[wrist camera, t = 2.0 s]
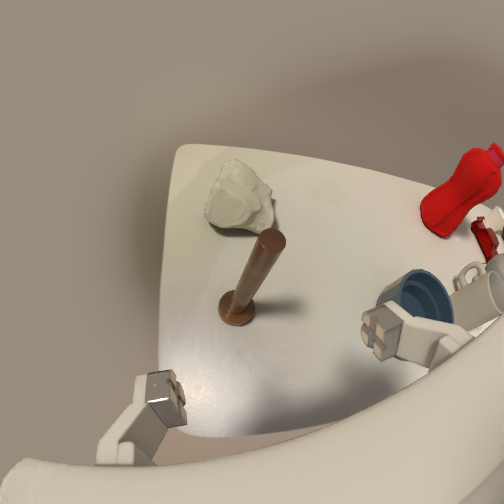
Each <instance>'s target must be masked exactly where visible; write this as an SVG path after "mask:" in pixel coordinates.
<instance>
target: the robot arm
mask: <svg viewBox="0 0 504 504" xmlns="http://www.w3.org/2000/svg"><path fill="white" fill-rule="evenodd" d="M362 321H363V322H364V324H363V326H362V327H361V336H362V340H363V342H364V343H365V345H366V346H367V347H369V348H373V354H374V355H375V356H376V357H377V358H378V359H379V361H380V362H382V361H384V360H386V359H388V358H390V357H392V356H394V355H396V356H399V357H401V358H404V359H406V360H408V361H411V362H413V363H416V364H418V365H421V366H423V367H426V368H429V371H428V374H426V375H425V376H423V377H421V378H420V379H418V380H417V381H415V382H413V383H412V384H410V385H409V386H407V387H405V388H404V389H402V390H400V391H398V392H397V393H395V394H393V395H391V396H389V397H388V398H386V399H384V400H382V401H380V402H378V403H376V404H374V405H372V406H370V407H368V408H366V409H364V410H362V411H360V412H358V413H356V414H354V415H352V416H350V417H347V418H345V419H343V420H341V421H338V422H336V423H333V424H331V425H329V426H326V427H324V428H321V429H318V430H316V431H313V432H311V433H308V434H305V435H302V436H299V437H296V438H293V439H290V440H287V441H284V442H281V443H278V444H274V445H271V446H267V447H263V448H260V449H256V450H252V451H248V452H244V453H239V454H235V455H230V456H226V457H220V458H215V459H209V460H203V461H197V462H189V463H180V464H171V465H159V466H157V465H156V464H155V463H154V462H153V461H152V458H153V456H154V455H155V452H156V451H157V449H158V447H159V445H160V443H161V442H162V440H163V438H164V436H165V434H166V432H167V431H168V428H172V427H178V426H183V425H187V414H186V411H185V409H184V405H185V404H186V401H185V395H184V391H183V389H182V386H181V384H180V383H179V382H177V381H176V375H175V373H174V372H173V370H171V369H170V370H165V371H158V372H153V373H147V374H140V375H137V376H136V379H135V386H134V394H133V403H132V405H129V406H128V407H127V408H126V409H125V411H124V412H123V413H122V414H121V415H120V416H119V418H118V419H117V420H116V421H115V422H114V424H113V425H112V426H111V427H110V428H109V430H108V431H107V432H106V433H105V435H104V436H103V437H102V438H101V439H100V440H99V442H98V448H97V455H96V464H95V466H89V465H77V464H68V463H60V462H53V461H47V460H42V459H37V458H31V457H27V458H24V459H23V460H21V461H20V462H19V463H18V464H17V465H16V466H14V467H13V468H12V469H11V470H10V471H9V472H8V473H7V474H6V475H5V477H4V479H3V481H2V484H1V487H0V504H504V313H503V314H501V315H500V316H499V317H498V318H497V319H496V320H495V321H494V322H493V323H492V324H491V325H490V326H489V327H488V328H486V329H485V330H484V331H483V332H482V333H481V334H480V335H478V336H477V337H476V338H475V337H474V336H472V335H471V334H470V333H468V332H467V331H466V330H465V329H463V328H462V327H461V326H460V325H456V324H451V323H446V322H441V321H436V320H432V319H427V318H422V317H418V316H416V317H413V316H411V315H410V314H409V313H408V312H406V311H405V310H404V309H403V308H402V307H400V306H399V305H398V304H397V303H395V302H394V301H391V300H390V301H388V302H386V303H384V304H382V305H379V306H377V307H375V308H372V309H370V310H368V311H365V312H363V314H362Z"/></svg>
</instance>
